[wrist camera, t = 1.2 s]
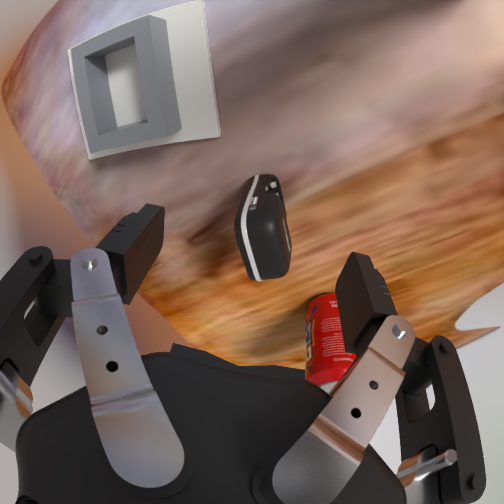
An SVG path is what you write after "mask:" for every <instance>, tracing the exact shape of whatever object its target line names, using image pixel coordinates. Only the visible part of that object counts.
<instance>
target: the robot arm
mask: <svg viewBox="0 0 504 504" xmlns="http://www.w3.org/2000/svg"><path fill="white" fill-rule="evenodd" d="M164 216H165V209H164V207H162V206H157V205H152V204H145V206H144V207H143V208H142V209H141V210H140V211H139V212H138V213H134V212H133V213H131V214H129V215H127V216H125V217H123V218H122V219H121V220H120V221H119V222H118V223H117V225H115V227H114V228H113V229H112V231H110V232H109V233H108V234H107V235H106V236H105V237H104V239H103V240H102V241H101V242H100V243H99V244H98V245H97V246H96V248H87V249H83V250H81V251H79V252H77V253H76V254H75V255H74V256H73V257H72V259H71V260H62V259H60V260H59V259H54V258H53V255H52V251H51V250H50V249H49V248H48V247H44V246H38V247H34V248H31V249H29V250H28V251H26V252H25V253H24V254H23V255H22V256H21V257H20V258H19V259H18V260H17V262H16V263H15V264H14V265H13V266H12V267H11V269H10V270H9V271H8V272H7V273H6V274H5V275H4V277H3V278H2V279H1V281H0V442H1V443H2V444H4V445H5V446H7V447H8V448H10V449H11V450H13V451H14V452H16V458H17V465H18V474H19V475H18V476H19V492H18V497H17V501H16V503H15V504H470V503H473V502H475V501H477V500H478V499H479V498H480V497H481V496H482V494H483V492H484V490H485V486H486V474H485V465H484V458H483V451H482V445H481V440H480V434H479V429H478V424H477V420H476V416H475V411H474V407H473V403H472V400H471V396H470V392H469V388H468V385H467V381H466V378H465V375H464V372H463V369H462V366H461V362H460V360H459V357H458V354H457V351H456V348H455V347H454V345H453V344H452V343H451V341H450V340H448V339H447V338H445V337H443V336H440V335H438V336H435V337H434V338H433V339H432V340H431V341H430V342H429V343H428V342H426V341H423V340H421V339H419V338H417V337H416V335H415V331H414V329H413V327H412V326H411V324H410V323H409V322H408V321H407V320H405V319H404V318H402V317H400V316H398V314H397V312H396V309H395V306H394V303H393V301H392V298H391V295H389V294H390V293H389V290H388V288H387V285H386V283H385V280H384V278H383V276H382V275H381V274H380V273H379V272H378V270H377V269H374V266H373V264H372V261H371V259H370V257H369V256H368V255H364V254H360V253H356V252H352V253H351V254H350V255H349V257H348V259H347V261H346V263H345V266H344V268H343V270H342V272H341V274H340V276H339V278H338V280H337V283H336V288H335V294H336V299H337V305H338V311H339V316H340V322H341V328H342V335H343V341H344V348H345V353H353V354H356V358H355V360H354V361H353V362H352V363H351V365H350V366H349V367H348V369H347V370H346V371H345V373H344V374H343V375H342V377H341V378H340V379H339V381H338V382H337V383H336V384H335V386H334V387H333V388H332V389H331V391H330V392H329V393H327V392H326V391H324V390H323V389H322V388H320V387H319V386H317V385H316V384H314V383H312V382H310V381H307V380H305V370H302V369H295V368H289V367H282V366H276V365H266V366H237V365H234V364H232V363H230V362H228V361H225V360H223V359H221V358H219V357H217V356H215V355H212V354H210V353H208V352H206V351H203V350H198V349H194V348H190V347H187V346H182V345H179V344H175V343H173V345H172V348H171V351H170V352H156V353H150V354H147V355H142V356H140V354H139V352H138V349H137V346H136V343H135V341H134V338H133V335H132V332H131V329H130V326H129V323H128V320H127V317H126V314H125V310H124V307H123V304H122V303H124V304H127V305H129V304H130V303H131V301H132V299H133V297H134V295H135V294H136V292H137V290H138V288H139V287H140V285H141V283H142V281H143V280H144V278H145V276H146V275H147V273H148V271H149V269H150V268H151V266H152V264H153V263H154V261H155V259H156V258H157V256H158V254H159V253H160V251H161V248H162V244H163V236H164ZM33 300H34V303H35V304H34V305H33V307H32V308H31V310H30V311H29V313H28V314H27V316H26V317H25V319H24V315H25V312H26V310H27V309H28V307H29V306H30V304H31V303H32V301H33ZM66 317H73V320H74V326H75V333H76V339H77V345H78V350H79V355H80V360H81V365H82V369H83V374H84V378H85V382H86V386H84V387H82V388H80V389H79V390H77V391H75V392H73V393H71V394H69V395H67V396H65V397H63V398H61V399H60V400H58V401H56V402H54V403H52V404H50V405H48V406H46V407H44V408H42V409H40V410H38V411H36V412H35V413H33V414H32V415H31V413H32V411H33V408H32V402H33V396H32V392H31V389H30V386H31V383H32V381H33V379H34V377H35V375H36V373H37V371H38V368H39V366H40V364H41V362H42V360H43V358H44V356H45V354H46V352H47V350H48V348H49V347H50V345H51V343H52V341H53V339H54V337H55V335H56V334H57V332H58V330H59V328H60V326H61V325H62V323H63V321H64V319H65V318H66ZM431 384H432V385H433V389H434V394H435V404H434V406H433V408H432V409H431V410H430V409H429V404H428V398H427V394H426V388H428V387H429V386H430V385H431ZM394 397H395V400H396V407H397V415H398V423H399V434H400V446H401V461H402V463H401V465H400V467H399V469H398V472H397V474H396V475H395V474H394V473H393V472H392V470H391V469H390V468H389V467H388V466H387V465H386V463H385V462H384V461H383V460H382V458H381V457H380V456H379V455H378V454H377V452H376V451H375V450H374V449H373V447H372V446H371V445H370V444H369V442H370V440H371V439H372V437H373V435H374V434H375V432H376V430H377V428H378V427H379V425H380V423H381V422H382V420H383V418H384V416H385V414H386V413H387V411H388V409H389V406H390V405H391V403H392V401H393V399H394Z"/></svg>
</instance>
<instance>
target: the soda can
mask: <svg viewBox="0 0 504 504" xmlns="http://www.w3.org/2000/svg"><path fill="white" fill-rule="evenodd" d="M355 358H356V354H353V353H345V348H344V341H343V335H342V328H341V322H340V316H339V311H338V305H337V299H336V294H335V293H327V294H323V295H321V296H319V297H317V298H315V299H314V300H313V301H312V302H311V303H310V304H309V305H308V307H307V310H306V369H305V380H307V381H310V382H312V383H314V384H316V385H317V386H319V387H320V388H322V389H323V390H324V391H326V392H327V393H329V392H330V391H331V389H332V388H333V387H334V386H335V384H336V383H337V382H338V381H339V379H340V378H341V377H342V375H343V374H344V373H345V371H346V370H347V369H348V367H349V366H350V365H351V363H352V362H353V361H354V360H355Z"/></svg>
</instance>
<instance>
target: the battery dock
mask: <svg viewBox="0 0 504 504" xmlns="http://www.w3.org/2000/svg"><path fill="white" fill-rule="evenodd" d="M68 57H69V65H70V72H71V79H72V85H73V91H74V96H75V102H76V107H77V112H78V116H79V121H80V125H81V130H82V134H83V138H84V142H85V146H86V150H87V154H88V157H89V160H91V159H95V158H99V157H103V156H108V155H112V154H117V153H121V152H126V151H131V150H136V149H141V148H146V147H152V146H158V145H164V144H170V143H176V142H183V141H190V140H198V139H206V138H215V137H220V136H221V128H220V121H219V114H218V107H217V99H216V92H215V84H214V76H213V69H212V61H211V53H210V45H209V37H208V29H207V21H206V12H205V4H204V1H203V0H196V1H192V2H187V3H184V4H180V5H176V6H172V7H169V8H165V9H162V10H159V11H156V12H153V13H150V14H147V15H144V16H141V17H138V18H135V19H133V20H130V21H128V22H125V23H123V24H120V25H118V26H115V27H113V28H111V29H108V30H106V31H104V32H102V33H99V34H97V35H95V36H93V37H91V38H89V39H87V40H85V41H83V42H81V43H79V44H77V45H75V46H74V47H72V48H70V49H68Z"/></svg>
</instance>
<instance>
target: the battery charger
mask: <svg viewBox="0 0 504 504" xmlns="http://www.w3.org/2000/svg"><path fill="white" fill-rule="evenodd" d="M234 228H235V236H236V240H237V243H238V246H239V249H240V253H241V256H242V259H243V262H244V265H245V268H246V271H247V274H248V276H249V278H250V279H251V280H257V281H263V280H265V279H275V278H281V277H283V276H285V275H286V274H287V272H288V270H289V267H290V260H291V248H292V246H291V239H290V234H289V230H288V226H287V220H286V211H285V206H284V201H283V196H282V192H281V187H280V183H279V180H278V178H277V177H276V176H274V175H270V174H264V175H255V176H253V177H251V179H250V182H249V185H248V187H247V189H246V191H245V194H244V196H243V198H242V200H241V203H240V206H239V208H238V211H237V214H236V218H235V224H234Z"/></svg>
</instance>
